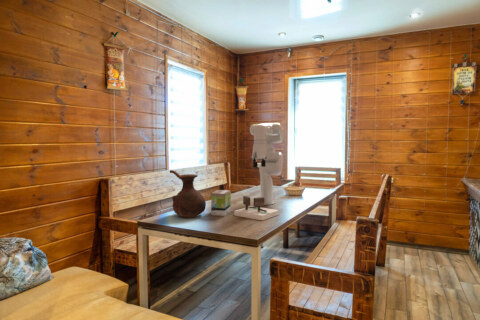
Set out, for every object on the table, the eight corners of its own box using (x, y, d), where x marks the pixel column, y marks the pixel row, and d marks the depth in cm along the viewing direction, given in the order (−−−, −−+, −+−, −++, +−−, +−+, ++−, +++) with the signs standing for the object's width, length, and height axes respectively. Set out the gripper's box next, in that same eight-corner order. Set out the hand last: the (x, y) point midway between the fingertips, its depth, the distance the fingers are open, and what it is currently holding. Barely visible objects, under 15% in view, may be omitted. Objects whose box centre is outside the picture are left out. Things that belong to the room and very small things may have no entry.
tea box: (225, 216, 204) (225, 193, 203) (210, 215, 206) (210, 193, 205) (231, 211, 219) (230, 189, 218) (217, 210, 221) (216, 189, 220)
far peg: (247, 210, 205) (247, 197, 205) (243, 208, 212) (243, 196, 211) (259, 209, 209) (259, 197, 208) (255, 207, 215) (255, 195, 214)
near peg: (253, 210, 204) (253, 198, 204) (262, 209, 208) (262, 197, 207) (261, 213, 197) (261, 200, 196) (270, 212, 200) (270, 199, 200)
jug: (187, 210, 221) (186, 167, 219) (212, 214, 210) (211, 169, 208) (164, 217, 202) (164, 170, 200) (191, 221, 191) (190, 172, 189)
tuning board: (251, 210, 221) (251, 205, 221) (278, 214, 207) (278, 209, 207) (234, 215, 206) (234, 210, 206) (262, 220, 192) (262, 215, 192)
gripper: (262, 142, 226) (262, 166, 227) (247, 142, 212) (247, 167, 213) (270, 142, 221) (270, 166, 222) (256, 142, 208) (256, 168, 209)
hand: (259, 167), depth 218 cm, fingers open, 9 cm apart
